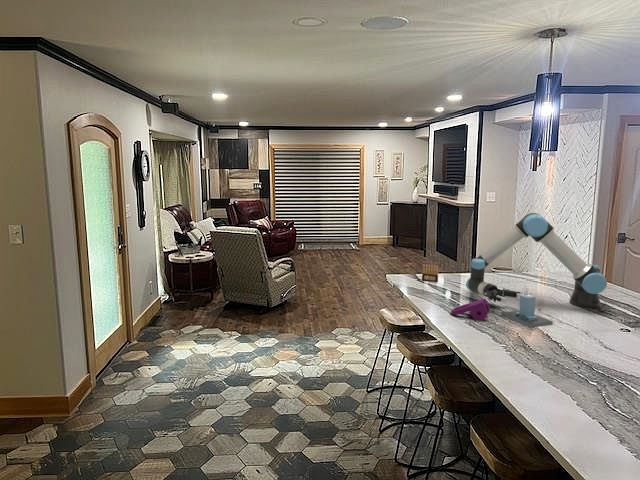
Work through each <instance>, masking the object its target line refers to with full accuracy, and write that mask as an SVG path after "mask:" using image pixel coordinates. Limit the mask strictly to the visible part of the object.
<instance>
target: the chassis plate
mask: <svg viewBox="0 0 640 480" xmlns="http://www.w3.org/2000/svg"><path fill="white" fill-rule="evenodd" d="M515 312H519V310H509V311H504V312H503V311H502V312H501V316H502V317H504V318H507V319H509V320H512V321H514V322H517V323H519V324H522V325H524V326H526V327H529V328H536V327H543V326H550V325H553V324H554V322H553V320H551V319H547V318H545V317H542V316H540V315H537V314H535V313H534V316H536V317H538V319H532V320H529V319H524V318H521V317H519V315H517V314H515Z"/></svg>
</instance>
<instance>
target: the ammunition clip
mask: <svg viewBox="0 0 640 480" xmlns="http://www.w3.org/2000/svg"><path fill="white" fill-rule="evenodd" d="M421 282H428V283H429V282H431V283H439V265H438V264H434V265H433V264H431V263H426V265H425V263H423V265H422V274H421Z"/></svg>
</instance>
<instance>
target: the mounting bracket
mask: <svg viewBox="0 0 640 480" xmlns="http://www.w3.org/2000/svg"><path fill="white" fill-rule="evenodd" d="M490 309H491V308H490V305H489V303H488V300H487V297H485V298H482V299H478V300H475V301H472V302H468V303H465V304H463V305H458V306H457V307H456V306H455V307H454V308H452V309H451V310H450V311H451V314H452V315H453V316H457V315H460V314H464V313H468V312H469V313H470V316H471V317H472V318H473V319H474V320H475V321H484V320H485V319H487V317H488V314H489V313H490Z"/></svg>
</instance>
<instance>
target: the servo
mask: <svg viewBox="0 0 640 480" xmlns="http://www.w3.org/2000/svg"><path fill="white" fill-rule="evenodd" d="M536 300H537V297H536V296H533V295H532V294H522V296H520V299H519V308H518V309H519V312H515V314H517V315H519V317H521V318H524V319H529V320H532V319H538V317H536V316H534V314H535V310H536Z"/></svg>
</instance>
